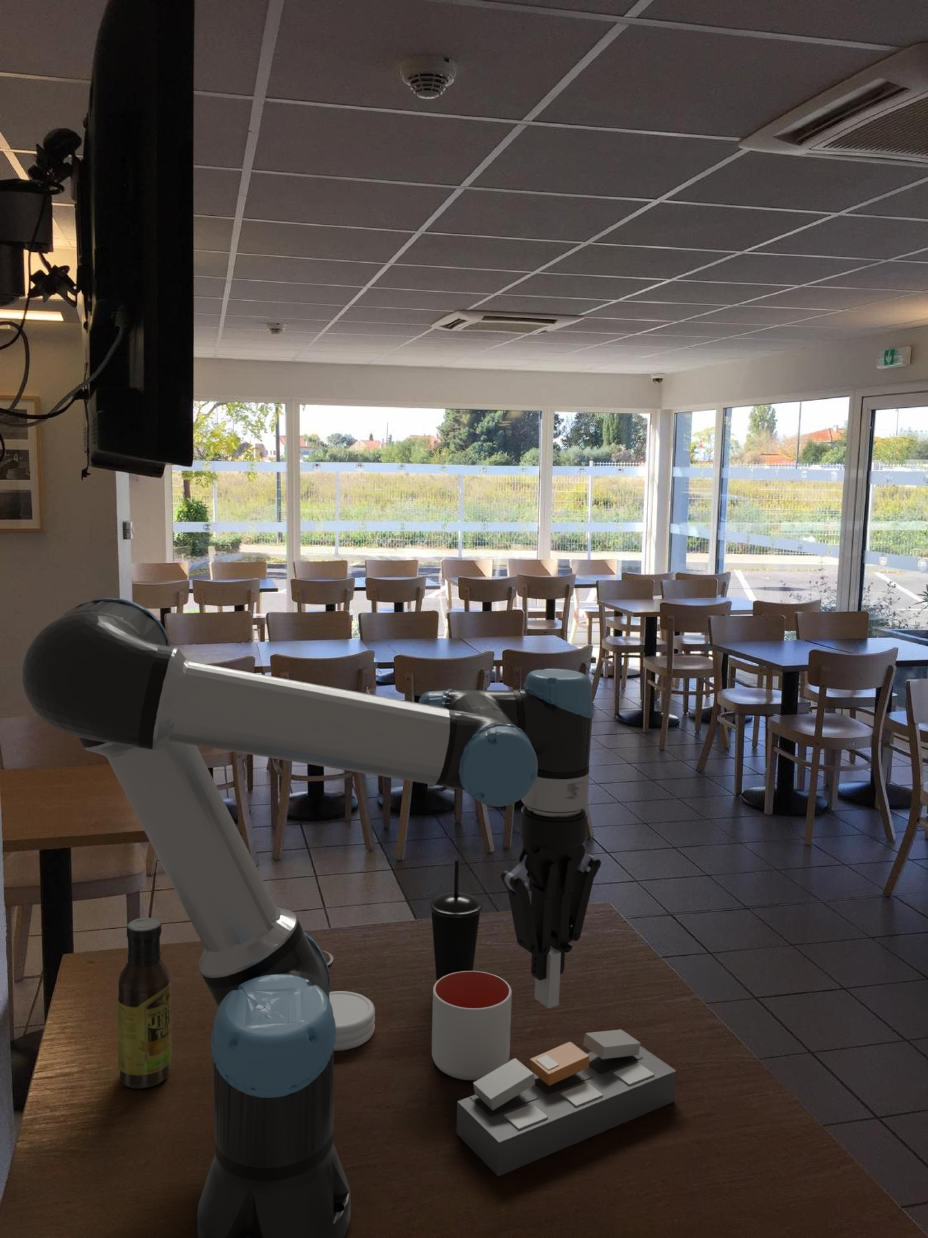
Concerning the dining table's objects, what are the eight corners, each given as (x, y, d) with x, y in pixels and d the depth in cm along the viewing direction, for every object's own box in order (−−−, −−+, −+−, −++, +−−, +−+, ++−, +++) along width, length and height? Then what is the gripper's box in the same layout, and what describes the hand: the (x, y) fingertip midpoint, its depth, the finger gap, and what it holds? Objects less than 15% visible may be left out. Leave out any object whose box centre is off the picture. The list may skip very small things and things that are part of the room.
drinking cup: (462, 1011, 144) (465, 875, 141) (417, 996, 148) (419, 863, 145) (489, 989, 150) (493, 858, 147) (445, 974, 154) (448, 847, 151)
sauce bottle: (156, 1095, 123) (152, 939, 120) (109, 1088, 124) (104, 933, 121) (181, 1066, 129) (178, 916, 126) (136, 1059, 130) (132, 911, 128)
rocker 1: (492, 1110, 114) (490, 1099, 114) (474, 1094, 117) (473, 1083, 117) (535, 1084, 117) (533, 1073, 117) (516, 1069, 120) (515, 1058, 120)
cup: (502, 1090, 126) (504, 1014, 124) (423, 1079, 127) (424, 1004, 126) (514, 1046, 135) (517, 975, 134) (441, 1036, 137) (442, 966, 136)
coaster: (321, 1007, 144) (321, 984, 144) (386, 1021, 141) (386, 997, 141) (286, 1044, 135) (286, 1019, 135) (355, 1059, 132) (355, 1034, 131)
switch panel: (498, 1176, 110) (499, 1141, 109) (456, 1133, 117) (457, 1100, 116) (674, 1101, 124) (676, 1069, 123) (627, 1067, 131) (629, 1036, 130)
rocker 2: (549, 1086, 118) (548, 1073, 118) (530, 1070, 121) (530, 1058, 121) (589, 1067, 122) (588, 1055, 121) (570, 1052, 125) (570, 1040, 124)
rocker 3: (602, 1059, 123) (604, 1047, 123) (583, 1045, 126) (585, 1033, 126) (638, 1055, 126) (640, 1043, 126) (618, 1041, 129) (621, 1029, 129)
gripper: (527, 825, 109) (519, 1032, 112) (620, 807, 116) (610, 1001, 119) (488, 805, 115) (482, 1001, 119) (578, 789, 122) (570, 974, 126)
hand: (546, 1001), depth 119 cm, fingers closed
